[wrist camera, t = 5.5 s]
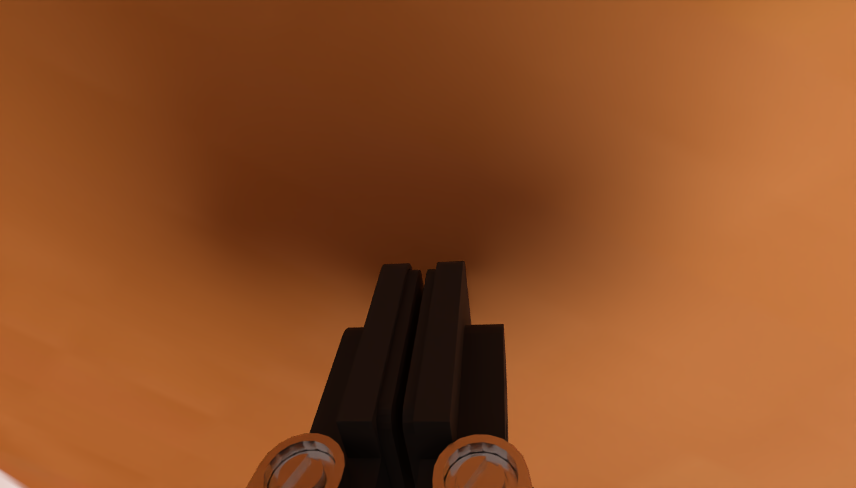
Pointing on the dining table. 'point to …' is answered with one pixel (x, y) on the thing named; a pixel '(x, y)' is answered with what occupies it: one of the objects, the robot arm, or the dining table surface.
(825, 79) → the dining table surface
